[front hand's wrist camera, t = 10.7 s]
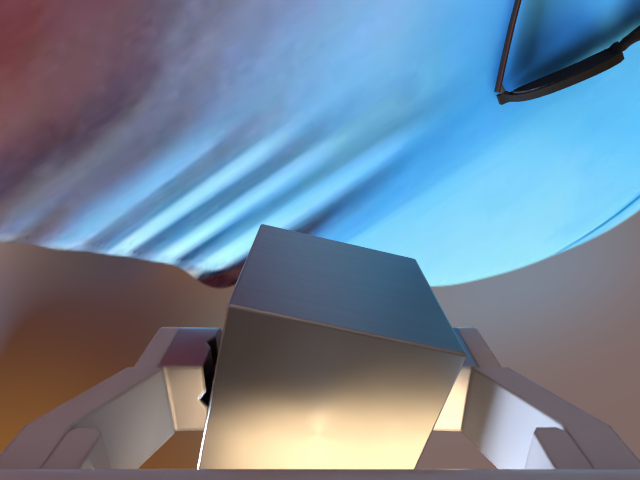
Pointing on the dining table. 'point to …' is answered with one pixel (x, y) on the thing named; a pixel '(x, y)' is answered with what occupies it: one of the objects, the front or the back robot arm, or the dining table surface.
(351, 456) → the block
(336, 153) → the dining table surface
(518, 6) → the sunglasses
